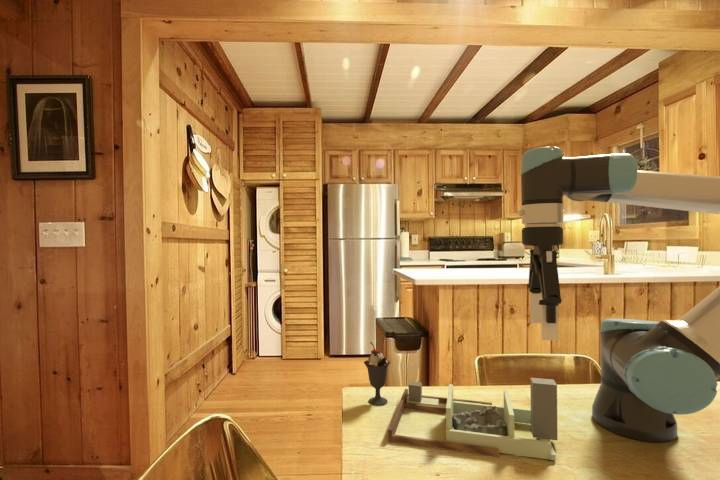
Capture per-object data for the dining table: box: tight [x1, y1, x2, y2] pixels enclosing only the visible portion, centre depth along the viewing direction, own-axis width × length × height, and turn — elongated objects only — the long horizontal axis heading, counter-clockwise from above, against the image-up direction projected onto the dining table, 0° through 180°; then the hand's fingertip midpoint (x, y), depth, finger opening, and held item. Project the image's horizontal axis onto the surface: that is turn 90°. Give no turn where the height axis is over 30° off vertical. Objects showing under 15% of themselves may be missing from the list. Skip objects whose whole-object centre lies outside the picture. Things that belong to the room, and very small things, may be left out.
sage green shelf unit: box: [445, 377, 558, 461], centre depth 79 cm, size 21×14×12 cm, turn 74°
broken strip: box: [406, 380, 480, 406], centre depth 92 cm, size 18×3×5 cm, turn 74°
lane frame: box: [387, 388, 500, 458], centre depth 84 cm, size 21×21×2 cm
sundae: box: [363, 341, 391, 407], centre depth 96 cm, size 7×7×15 cm
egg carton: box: [452, 405, 507, 436], centre depth 80 cm, size 11×8×4 cm
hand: (543, 330), depth 76 cm, fingers open, 13 cm apart
